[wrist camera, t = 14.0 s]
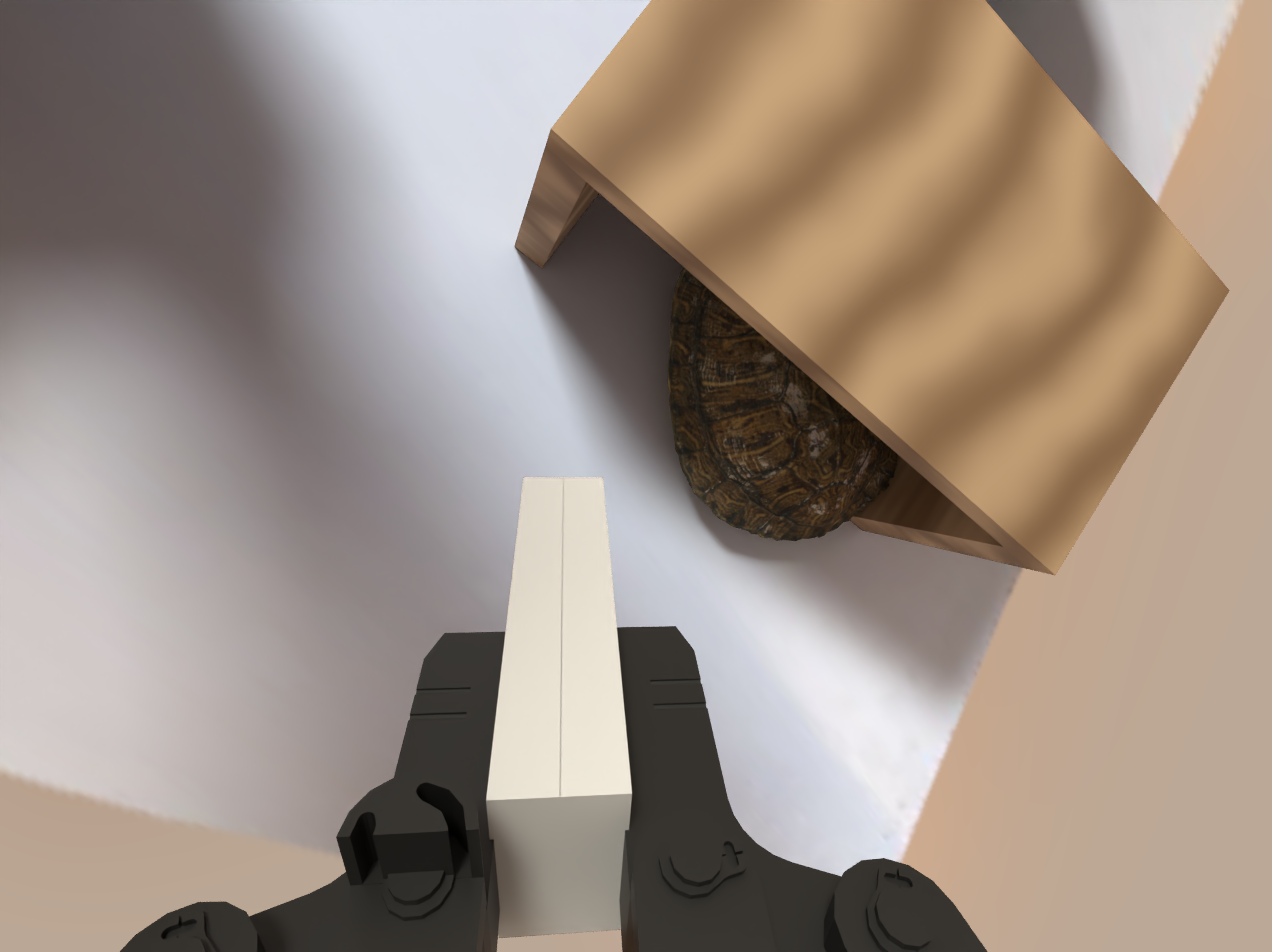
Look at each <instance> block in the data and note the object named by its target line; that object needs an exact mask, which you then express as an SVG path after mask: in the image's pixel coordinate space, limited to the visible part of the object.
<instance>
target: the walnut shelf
mask: <svg viewBox="0 0 1272 952" xmlns="http://www.w3.org/2000/svg"><path fill="white" fill-rule="evenodd" d="M599 193H600V194H601V195H602V196H603V197H604V198H605V199H607V200H608V201H609V202H610V203H611V204H612V205H613V206H615V207H616V208H617V209H618V210H619V211H620V212H621V213H623V214H624V215H625V216H626V217H627V218H628V219H629V220H631V221H632V222H633V223H634V224H635V225H636V226H637V227H639V228H640V229H641V230H642V231H643V232H644V233H645V234H647V235H648V236H649V237H650V238H651V239H652V240H653V241H655V242H656V243H657V244H658V245H659V246H660V247H661V248H663V249H664V250H665V251H666V252H667V253H668V254H669V255H671V256H672V257H673V258H674V259H675V260H676V261H677V262H679V263H680V264H681V265H682V266H683V267H684V268H685V269H687V270H688V271H689V272H690V273H691V274H692V275H693V276H695V277H696V278H697V279H698V280H699V281H700V282H701V283H703V284H704V285H705V286H706V287H707V288H708V289H709V290H711V291H712V292H713V293H714V294H715V295H716V296H717V297H719V298H720V299H721V300H722V301H723V302H724V303H725V304H727V305H728V306H729V307H730V308H731V309H732V310H733V311H735V312H736V313H737V314H738V315H739V316H740V317H741V318H743V319H744V320H745V321H746V322H747V323H748V324H749V325H751V326H752V327H753V328H754V329H755V330H756V331H757V332H759V333H760V334H761V335H762V336H763V337H764V338H765V339H767V340H768V341H769V342H770V343H771V344H772V345H773V346H775V347H776V348H777V349H778V350H779V351H780V352H781V353H783V354H784V355H785V356H786V357H787V358H788V359H789V360H791V361H792V362H793V363H794V364H795V365H796V366H797V367H799V368H800V369H801V370H802V371H803V372H804V373H805V374H807V375H808V376H809V377H810V378H811V379H812V380H813V381H815V382H816V383H817V384H818V385H819V386H820V387H821V388H823V389H824V390H825V391H826V392H827V393H828V394H829V395H831V396H832V397H833V398H834V399H835V400H836V401H837V402H839V403H840V404H841V405H842V406H843V407H844V408H845V409H847V410H848V411H849V412H850V413H851V414H852V415H853V416H855V417H856V418H857V419H858V420H859V421H860V422H861V423H863V424H864V425H865V426H866V427H867V428H868V429H869V430H871V431H872V432H873V433H874V434H875V435H876V436H877V437H879V438H880V439H881V440H882V441H883V442H884V443H885V444H887V445H888V446H889V447H890V448H891V449H892V450H893V451H895V452H896V453H897V454H898V455H897V467H896V470H895V473H894V478H890V481H889V487H888V488H887V489H886V490H885V491H883V492H881V493H880V494H879V495H878V496H877V497H876V499H875V501H872V502H868V503H867V505H866V507H864V508H863V510H862V512H859V513H856V514H855V515H854V516H853V517H852V518H851V519H850V521H852V522H853V523H854V524H855V525H857V526H858V527H859V528H860V529H861V530H863V531H868V532H872V533H876V534H881V535H885V536H889V537H893V538H898V539H902V540H906V541H911V542H915V543H919V544H923V545H928V546H932V547H936V548H941V549H945V550H949V551H953V552H958V553H962V554H966V555H971V556H975V557H979V558H983V559H988V560H992V561H996V562H1001V563H1005V564H1009V565H1013V566H1018V567H1022V568H1026V569H1031V570H1035V571H1040V572H1044V573H1048V574H1052V575H1056V573H1057V572H1058V570H1059V568H1060V567H1061V565H1062V564H1063V562H1064V560H1065V559H1066V557H1067V555H1068V554H1069V552H1070V550H1071V549H1072V547H1073V546H1074V544H1075V542H1076V541H1077V539H1078V537H1079V536H1080V534H1081V532H1082V531H1083V529H1084V528H1085V526H1086V524H1087V522H1088V521H1089V519H1090V518H1091V516H1092V514H1093V513H1094V511H1095V510H1096V508H1097V506H1098V505H1099V503H1100V501H1101V500H1102V498H1103V496H1104V495H1105V493H1106V491H1107V490H1108V488H1109V487H1110V485H1111V483H1112V482H1113V480H1114V479H1115V477H1116V475H1117V474H1118V472H1119V470H1120V469H1121V467H1122V465H1123V464H1124V462H1125V461H1126V459H1127V457H1128V456H1129V454H1130V452H1131V451H1132V449H1133V447H1134V446H1135V444H1136V442H1137V441H1138V439H1139V437H1140V436H1141V434H1142V433H1143V431H1144V429H1145V428H1146V426H1147V425H1148V423H1149V421H1150V420H1151V418H1152V416H1153V415H1154V413H1155V412H1156V410H1157V408H1158V407H1159V405H1160V403H1161V402H1162V400H1163V398H1164V397H1165V395H1166V393H1167V392H1168V390H1169V389H1170V387H1171V385H1172V384H1173V382H1174V380H1175V379H1176V377H1177V376H1178V374H1179V372H1180V371H1181V369H1182V367H1183V366H1184V364H1185V362H1186V361H1187V359H1188V358H1189V356H1190V354H1191V353H1192V351H1193V349H1194V348H1195V346H1196V345H1197V343H1198V341H1199V339H1200V338H1201V336H1202V335H1203V333H1204V331H1205V330H1206V328H1207V326H1208V325H1209V323H1210V322H1211V320H1212V318H1213V317H1214V315H1215V313H1216V312H1217V310H1218V309H1219V307H1220V305H1221V304H1222V302H1223V300H1224V299H1225V297H1226V295H1227V294H1228V292H1229V289H1228V288H1227V287H1226V286H1225V285H1224V283H1223V282H1222V281H1221V280H1220V279H1219V277H1218V276H1217V275H1216V274H1215V273H1214V272H1213V270H1212V269H1211V268H1210V267H1209V266H1208V264H1207V263H1206V262H1205V261H1204V260H1203V258H1202V257H1201V256H1200V255H1199V254H1198V253H1197V251H1196V250H1195V249H1194V248H1193V247H1192V245H1191V244H1190V243H1189V242H1188V241H1187V239H1186V238H1185V237H1184V236H1183V235H1182V234H1181V232H1180V231H1179V230H1178V229H1177V228H1176V226H1175V225H1174V224H1173V223H1172V222H1171V220H1170V219H1169V218H1168V217H1167V216H1166V214H1165V213H1164V212H1163V211H1162V210H1161V209H1160V207H1159V206H1158V205H1157V204H1156V203H1155V201H1154V200H1153V199H1152V198H1151V197H1150V195H1149V194H1148V193H1147V192H1146V191H1145V189H1144V188H1143V187H1142V186H1141V185H1140V184H1139V182H1138V181H1137V180H1136V179H1135V178H1134V176H1133V175H1132V174H1131V173H1130V172H1129V170H1128V169H1127V168H1126V167H1125V166H1124V164H1123V163H1122V162H1121V161H1120V160H1119V159H1118V157H1117V156H1116V155H1115V154H1114V153H1113V151H1112V150H1111V149H1110V148H1109V147H1108V145H1107V144H1106V143H1105V142H1104V141H1103V140H1102V138H1101V137H1100V136H1099V135H1098V134H1097V132H1096V131H1095V130H1094V129H1093V128H1092V126H1091V125H1090V124H1089V123H1088V122H1087V120H1086V119H1085V118H1084V117H1083V116H1082V115H1081V113H1080V112H1079V111H1078V110H1077V109H1076V107H1075V106H1074V105H1073V104H1072V103H1071V101H1070V100H1069V99H1068V98H1067V97H1066V96H1065V94H1064V93H1063V92H1062V91H1061V90H1060V88H1059V87H1058V86H1057V85H1056V84H1055V82H1054V81H1053V80H1052V79H1051V78H1050V76H1049V75H1048V74H1047V73H1046V72H1045V71H1044V69H1043V68H1042V67H1041V66H1040V65H1039V63H1038V62H1037V61H1036V60H1035V59H1034V57H1033V56H1032V55H1031V54H1030V53H1029V52H1028V50H1027V49H1026V48H1025V47H1024V46H1023V44H1022V43H1021V42H1020V41H1019V40H1018V38H1017V37H1016V36H1015V35H1014V34H1013V33H1012V31H1011V30H1010V29H1009V28H1008V27H1007V25H1006V24H1005V23H1004V22H1003V21H1002V19H1001V18H1000V17H999V16H998V15H997V13H996V12H995V11H994V10H993V9H992V8H991V6H990V5H989V4H988V3H987V2H986V0H651V1H650V3H649V4H648V5H647V7H646V8H645V9H644V10H643V12H642V13H641V14H640V15H639V17H638V18H637V19H636V21H635V22H634V23H633V24H632V26H631V27H630V28H629V30H628V31H627V32H626V33H625V35H624V36H623V37H622V38H621V40H620V41H619V42H618V44H617V45H616V46H615V47H614V49H613V50H612V51H611V53H610V54H609V55H608V56H607V58H606V59H605V60H604V62H603V63H602V64H601V65H600V67H599V68H598V69H597V70H596V72H595V73H594V74H593V76H592V77H591V78H590V79H589V81H588V82H587V83H586V85H585V86H584V87H583V88H582V90H581V91H580V92H579V94H578V95H577V96H576V97H575V99H574V100H573V101H572V102H571V104H570V105H569V106H568V108H567V109H566V110H565V111H564V113H563V114H562V115H561V117H560V118H559V119H558V120H557V122H556V123H555V124H554V125H553V127H552V128H551V130H550V133H549V137H548V140H547V143H546V146H545V150H544V153H543V156H542V159H541V162H540V166H539V169H538V172H537V175H536V179H535V182H534V185H533V188H532V191H531V195H530V198H529V201H528V204H527V207H526V211H525V214H524V217H523V220H522V224H521V227H520V230H519V233H518V236H517V240H516V243H515V247H516V248H517V249H518V250H520V251H521V252H522V253H523V254H524V255H526V256H527V257H528V258H529V259H531V260H532V261H533V262H534V263H536V264H537V265H538V266H539V267H540V268H543V266H544V265H545V264H546V262H547V261H548V260H549V258H550V257H551V256H552V254H553V253H554V252H555V250H556V249H557V248H558V247H559V245H560V244H561V243H562V241H563V240H564V239H565V237H566V236H567V235H568V233H569V232H570V231H571V229H572V228H573V227H574V225H575V224H576V223H577V222H578V220H579V219H580V218H581V216H582V215H583V214H584V212H585V211H586V210H587V208H588V207H589V206H590V204H591V203H592V202H593V201H594V199H595V198H596V197H597V195H598V194H599Z"/></svg>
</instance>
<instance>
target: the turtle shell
mask: <svg viewBox="0 0 1272 952" xmlns="http://www.w3.org/2000/svg"><path fill="white" fill-rule="evenodd" d="M668 387H669V393H670V396H669V402H670V410H671V417H672V424H673V431H674V438H675V448H676V451H677V453H678V455H679V459H680V464H681V467H682V470H683V472H684V474H685V476H686V477H687V480H688V482H689V484H690V486H691V487H692V489H693V491H694V493H695V494H696V495H697V496H698V497H699V498H700V499H701V500H702V501H703V502H704V503H705V504H707V505H708V506H709V507H711V509H712V512H713V513H714V514H715V515H716V516H717V517H718V518H720V519H722V520H724V521H726V522H727V523H729V524H730V525H732V526H733V527H736V528H741V529H744V530H747V531H749V532H750V533H751V534H758V535H759V536H760V537H764V538H773V539H775V540H777V541H778V540H790V541H797V540H800V539H809V538H815V537H816V536H818V537H821V536H824V535H825V534H826V533H827V532H830V531H832V530H834V529H836V528H838V527H839V526H840V525H841V524H842V523H843V522H846V521H849V520H850V519H851V518H852V517H853V516H854V515H855V514H856V513H859V512H862V510H863V508H864V507H866V505H867V503H868V502H872V501H875V499H876V497H877V496H878V495H879V494H880V493H881V492H883V491H885V490H886V489H887V488H888V487H889V481H890V478H894V473H895V470H896V467H897V455H898V454H897V453H896V452H895V451H893V450H892V449H891V448H890V447H889V446H888V445H887V444H885V443H884V442H883V441H882V440H881V439H880V438H879V437H877V436H876V435H875V434H874V433H873V432H872V431H871V430H869V429H868V428H867V427H866V426H865V425H864V424H863V423H861V422H860V421H859V420H858V419H857V418H856V417H855V416H853V415H852V414H851V413H850V412H849V411H848V410H847V409H845V408H844V407H843V406H842V405H841V404H840V403H839V402H837V401H836V400H835V399H834V398H833V397H832V396H831V395H829V394H828V393H827V392H826V391H825V390H824V389H823V388H821V387H820V386H819V385H818V384H817V383H816V382H815V381H813V380H812V379H811V378H810V377H809V376H808V375H807V374H805V373H804V372H803V371H802V370H801V369H800V368H799V367H797V366H796V365H795V364H794V363H793V362H792V361H791V360H789V359H788V358H787V357H786V356H785V355H784V354H783V353H781V352H780V351H779V350H778V349H777V348H776V347H775V346H773V345H772V344H771V343H770V342H769V341H768V340H767V339H765V338H764V337H763V336H762V335H761V334H760V333H759V332H757V331H756V330H755V329H754V328H753V327H752V326H751V325H749V324H748V323H747V322H746V321H745V320H744V319H743V318H741V317H740V316H739V315H738V314H737V313H736V312H735V311H733V310H732V309H731V308H730V307H729V306H728V305H727V304H725V303H724V302H723V301H722V300H721V299H720V298H719V297H717V296H716V295H715V294H714V293H713V292H712V291H711V290H709V289H708V288H707V287H706V286H705V285H704V284H703V283H701V282H700V281H699V280H698V279H697V278H696V277H695V276H693V275H692V274H691V273H690V272H689V271H688V270H687V269H685V268H684V269H683V270H682V272H681V274H680V277H679V279H678V282H677V285H676V289H675V294H674V299H673V304H672V314H671V339H670V352H669V366H668Z"/></svg>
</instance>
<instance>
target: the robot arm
mask: <svg viewBox="0 0 1272 952" xmlns="http://www.w3.org/2000/svg"><path fill="white" fill-rule="evenodd" d="M336 838H337V842H338V845H339V848H340V852H341V855H342V859H343V862H344V866H345V869H346V872H345V873H344V874H343V875H341V876H340V877H338V878H337V879H336V880H334V881H333V882H332V883H330V884H328V885H326V886H324V887H322V888H320V889H318V890H316V891H314V892H312V893H310V894H308V895H305V896H302V897H299V898H297V899H294V900H291V901H289V902H286V903H284V904H281V905H278V906H276V907H273V908H270V909H268V910H265V911H263V912H260V913H257V914H255V915H252V916H250V917H249V916H248V914H247V912H245V911H244V910H241V909H239V908H237V907H235V906H233V905H231V904H229V903H227V902H197V903H195V904H192V905H189V906H186V907H184V908H181V909H178V910H175V911H173V912H170V913H167V914H166V915H164V916H163V917H161V918H160V919H158V920H157V921H155V922H154V923H152V924H151V925H149V926H148V927H147V928H145V929H144V930H142V931H141V932H139V933H138V934H136V935H135V936H134V937H133V938H132V939H131V940H130V941H129V942H128V943H127V945H126V946H125V947H124V948H123V949H122V950H121V951H120V952H496V951H497V939H498V935H499V938H507V937H521V936H535V935H549V934H564V933H579V932H594V931H608V930H620V929H621V935H622V950H623V952H987V951H986V949H985V948H984V946H983V945H982V943H981V942H980V941H979V939H978V938H977V936H976V935H975V933H974V932H973V931H972V929H971V928H970V926H969V925H968V923H967V922H966V921H965V919H964V918H963V916H962V915H961V913H960V912H959V911H958V909H957V908H956V906H955V905H954V904H953V902H952V901H951V900H950V899H949V898H948V897H947V896H946V895H945V894H944V893H943V892H942V890H941V889H940V888H939V887H938V886H937V885H936V884H935V883H934V882H933V881H932V880H931V879H929V878H928V877H926V876H924V875H923V874H921V873H920V872H918V871H917V870H915V869H914V868H912V867H910V866H909V865H906V864H902V863H899V862H895V861H892V860H888V859H884V858H881V859H872V860H862V861H860V862H858V863H857V864H856V865H854V866H853V867H851V868H850V869H848V870H847V871H845V872H844V873H843V875H842V877H841V876H838V875H834V874H831V873H827V872H824V871H820V870H817V869H813V868H810V867H806V866H803V865H799V864H796V863H792V862H790V861H787V860H785V859H782V858H780V857H777V856H775V855H773V854H771V853H770V852H768V851H767V850H765V849H764V848H763V847H761V846H760V845H758V844H757V843H756V842H755V841H754V840H753V839H752V838H751V837H750V836H749V835H748V834H747V833H746V832H745V831H744V830H743V829H742V827H741V825H740V824H739V822H738V821H737V819H736V818H735V816H734V815H733V812H732V809H731V806H730V803H729V801H728V797H727V793H726V789H725V784H724V780H723V775H722V771H721V767H720V762H719V758H718V753H717V749H716V745H715V740H714V736H713V731H712V727H711V723H710V718H709V714H708V709H707V708H706V701H705V696H704V692H703V687H702V684H701V682H700V674H699V670H698V665H697V661H696V657H695V652H694V650H693V648H692V647H691V646H690V644H689V643H688V642H687V641H686V639H685V638H684V637H683V635H682V634H681V633H680V632H679V630H678V629H677V628H676V626H669V627H620V628H617V624H616V613H615V602H614V592H613V581H612V570H611V559H610V548H609V537H608V526H607V515H606V505H605V494H604V483H603V477H523V485H522V494H521V503H520V511H519V520H518V529H517V537H516V546H515V555H514V563H513V572H512V580H511V589H510V598H509V606H508V615H507V624H506V632H475V633H444V635H443V636H442V637H441V638H440V640H439V641H438V642H437V643H436V645H435V646H434V647H433V648H432V650H431V651H430V652H429V653H428V655H427V656H426V657H425V658H424V661H423V665H422V669H421V673H420V677H419V681H418V685H417V693H416V695H415V697H414V701H413V705H412V709H411V713H410V720H408V724H407V728H406V732H405V736H404V740H403V744H402V748H401V752H400V756H399V760H398V764H397V768H396V772H395V776H394V778H393V779H391V780H389V781H387V782H385V783H384V784H382V785H380V786H378V787H376V788H374V789H373V790H371V791H370V792H369V793H368V794H367V795H366V796H364V797H363V798H362V799H361V800H360V801H359V802H358V803H357V804H356V805H355V806H354V807H353V808H352V809H351V810H350V811H349V813H348V815H347V817H346V819H345V821H344V823H343V825H342V827H341V829H340V831H339V833H338V835H337V837H336Z"/></svg>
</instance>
